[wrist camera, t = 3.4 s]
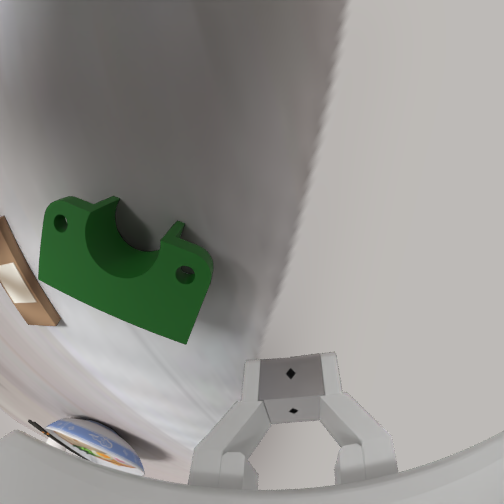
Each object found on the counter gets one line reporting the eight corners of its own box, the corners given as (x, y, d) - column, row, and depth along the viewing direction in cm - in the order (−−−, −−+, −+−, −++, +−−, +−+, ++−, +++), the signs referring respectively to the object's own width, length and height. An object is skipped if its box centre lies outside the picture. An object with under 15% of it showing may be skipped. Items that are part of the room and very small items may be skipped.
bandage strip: (-19, 227, 20) (-27, 233, 19) (4, 215, 19) (-5, 222, 18) (32, 318, 27) (27, 325, 26) (61, 318, 26) (55, 326, 25)
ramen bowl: (171, 456, 51) (165, 486, 44) (95, 440, 54) (87, 465, 47) (112, 407, 38) (98, 448, 31) (33, 387, 41) (19, 417, 34)
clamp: (204, 213, 24) (246, 268, 16) (181, 275, 25) (211, 346, 18) (62, 177, 17) (26, 221, 10) (50, 248, 19) (24, 320, 12)
